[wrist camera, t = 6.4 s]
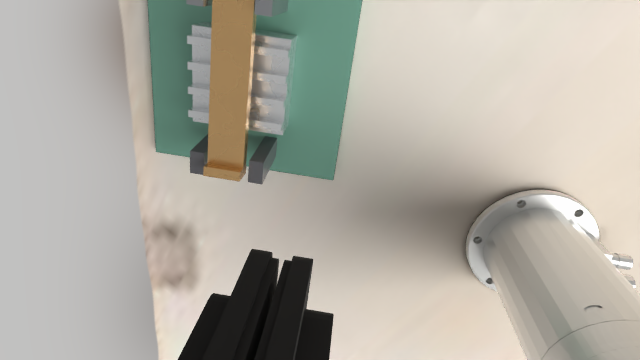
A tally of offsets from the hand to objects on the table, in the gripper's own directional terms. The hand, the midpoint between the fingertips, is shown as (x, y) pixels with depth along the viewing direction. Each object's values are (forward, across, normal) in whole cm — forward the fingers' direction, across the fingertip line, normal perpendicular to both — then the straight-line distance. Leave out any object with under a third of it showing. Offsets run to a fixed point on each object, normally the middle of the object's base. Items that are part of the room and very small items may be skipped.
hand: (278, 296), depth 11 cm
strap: (+23, +8, +1) cm, 24 cm away
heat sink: (+28, +8, -1) cm, 29 cm away
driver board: (+29, +8, +1) cm, 30 cm away
